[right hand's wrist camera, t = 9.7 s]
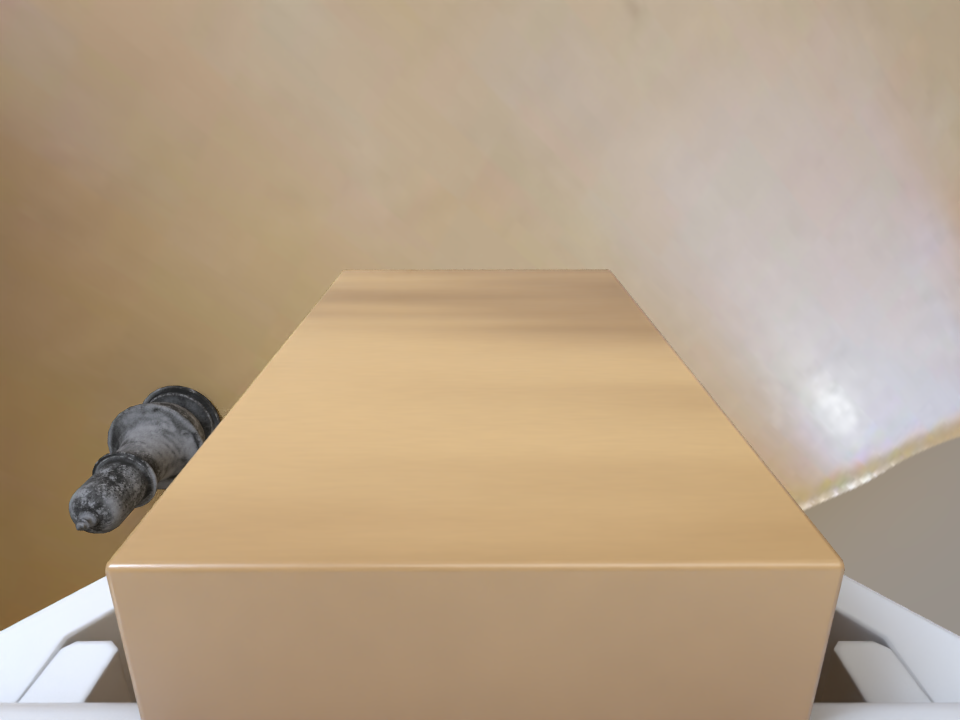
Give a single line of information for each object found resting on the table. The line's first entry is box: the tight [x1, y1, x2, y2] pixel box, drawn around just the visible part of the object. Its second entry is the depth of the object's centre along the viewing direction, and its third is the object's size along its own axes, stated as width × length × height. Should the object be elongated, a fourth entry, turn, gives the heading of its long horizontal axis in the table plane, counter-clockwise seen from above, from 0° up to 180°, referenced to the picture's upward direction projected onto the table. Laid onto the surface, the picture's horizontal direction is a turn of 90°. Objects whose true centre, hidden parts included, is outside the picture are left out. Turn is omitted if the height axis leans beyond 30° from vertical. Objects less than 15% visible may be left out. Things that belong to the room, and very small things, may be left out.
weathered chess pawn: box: [69, 386, 220, 533], centre depth 39 cm, size 6×6×12 cm
